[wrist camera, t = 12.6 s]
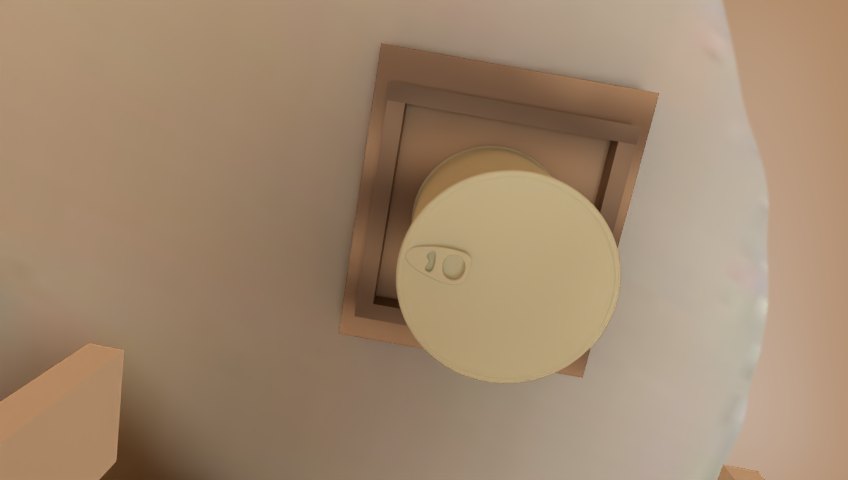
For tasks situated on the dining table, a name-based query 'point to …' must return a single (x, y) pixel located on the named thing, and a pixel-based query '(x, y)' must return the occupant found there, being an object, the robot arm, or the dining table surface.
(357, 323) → the stand
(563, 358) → the can
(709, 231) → the dining table surface
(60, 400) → the robot arm
